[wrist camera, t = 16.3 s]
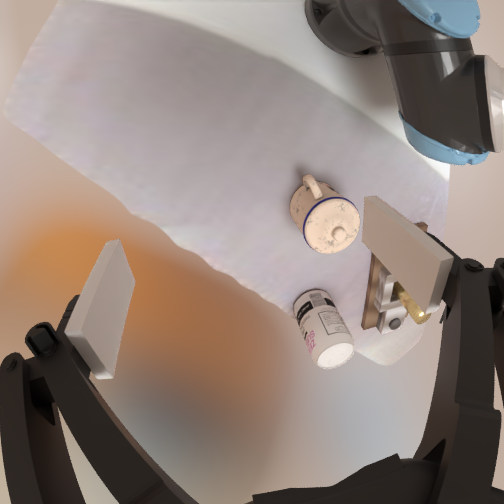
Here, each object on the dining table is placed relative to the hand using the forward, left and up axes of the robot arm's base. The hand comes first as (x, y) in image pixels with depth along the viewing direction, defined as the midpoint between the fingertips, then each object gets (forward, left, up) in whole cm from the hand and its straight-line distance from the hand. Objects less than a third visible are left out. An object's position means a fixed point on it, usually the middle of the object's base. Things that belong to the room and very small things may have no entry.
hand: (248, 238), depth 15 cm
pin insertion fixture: (+4, +47, -32) cm, 57 cm away
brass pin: (+4, +47, -30) cm, 56 cm away
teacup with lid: (0, +18, -32) cm, 37 cm away
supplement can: (+18, +33, -32) cm, 49 cm away
